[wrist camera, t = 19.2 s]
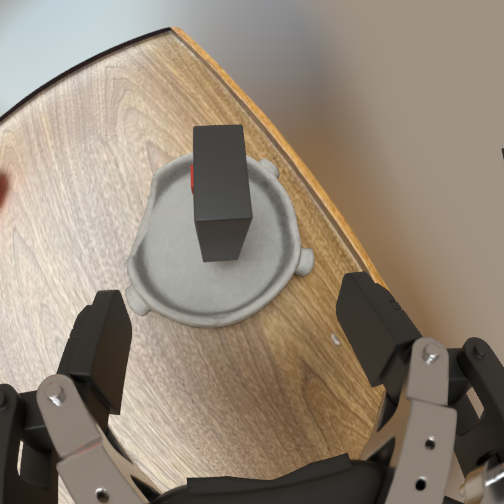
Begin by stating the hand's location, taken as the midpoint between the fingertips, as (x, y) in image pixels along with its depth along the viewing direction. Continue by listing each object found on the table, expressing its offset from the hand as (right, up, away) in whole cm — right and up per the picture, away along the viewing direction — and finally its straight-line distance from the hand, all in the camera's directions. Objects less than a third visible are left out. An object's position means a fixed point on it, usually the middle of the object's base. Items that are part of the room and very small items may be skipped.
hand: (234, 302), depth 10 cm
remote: (-2, +4, +10) cm, 11 cm away
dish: (-3, +2, +15) cm, 15 cm away
